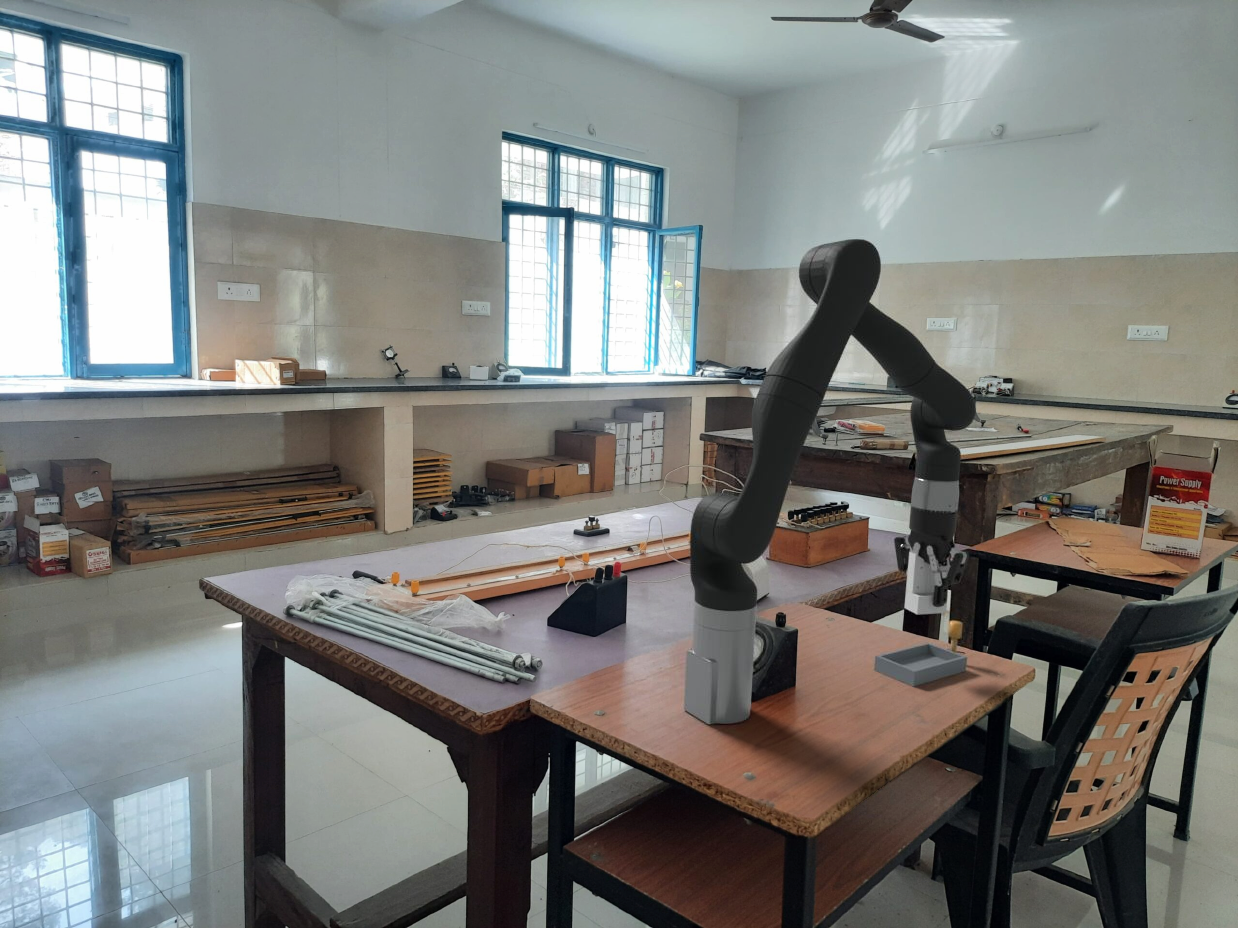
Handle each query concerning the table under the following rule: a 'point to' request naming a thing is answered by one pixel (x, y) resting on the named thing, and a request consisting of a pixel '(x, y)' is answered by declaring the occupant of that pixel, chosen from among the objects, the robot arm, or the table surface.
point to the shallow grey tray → (923, 661)
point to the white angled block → (921, 587)
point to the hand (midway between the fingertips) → (925, 601)
